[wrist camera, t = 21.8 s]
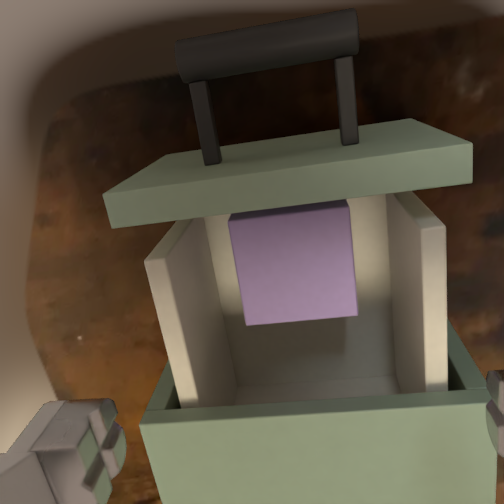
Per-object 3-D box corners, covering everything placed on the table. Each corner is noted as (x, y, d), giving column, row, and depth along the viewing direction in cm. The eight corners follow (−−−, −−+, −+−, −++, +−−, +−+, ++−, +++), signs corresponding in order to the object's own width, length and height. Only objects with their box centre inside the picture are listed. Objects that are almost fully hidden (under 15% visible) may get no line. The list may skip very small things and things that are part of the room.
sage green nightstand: (193, 304, 26) (137, 425, 17) (425, 281, 24) (499, 402, 15) (236, 498, 31) (211, 669, 22) (431, 490, 29) (490, 674, 20)
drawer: (144, 58, 21) (62, 50, 13) (407, 11, 19) (474, -27, 12) (216, 387, 27) (186, 504, 20) (420, 372, 25) (470, 493, 18)
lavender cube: (255, 280, 23) (245, 326, 19) (240, 192, 21) (226, 220, 17) (347, 270, 22) (358, 316, 18) (339, 179, 21) (349, 205, 17)
